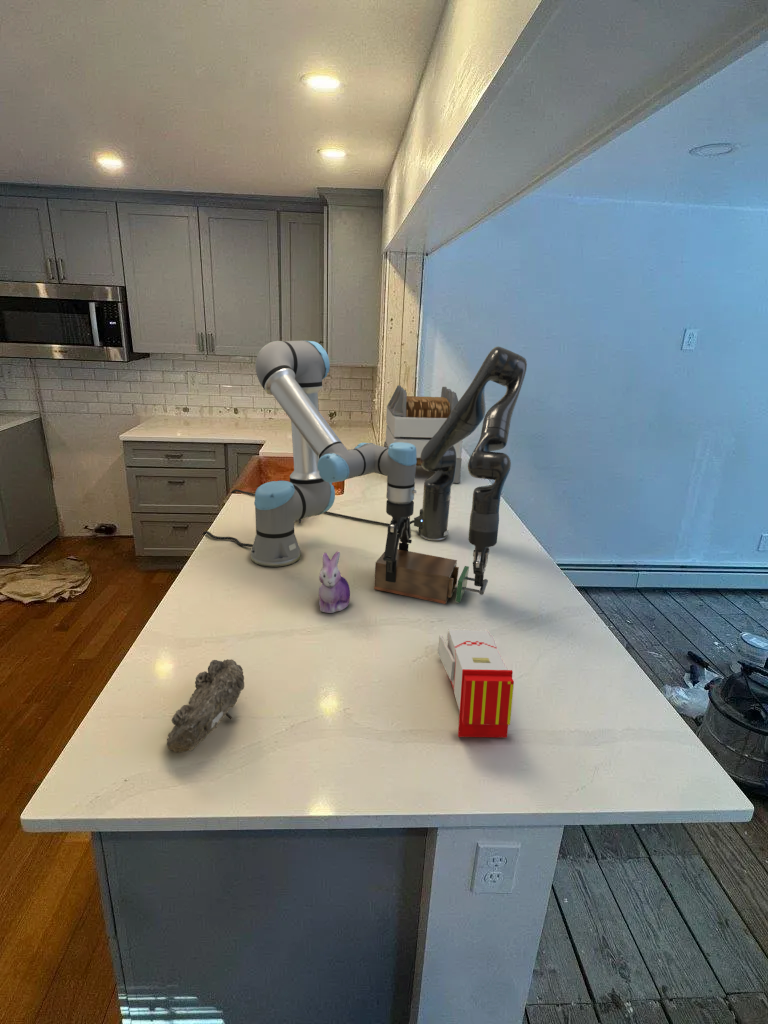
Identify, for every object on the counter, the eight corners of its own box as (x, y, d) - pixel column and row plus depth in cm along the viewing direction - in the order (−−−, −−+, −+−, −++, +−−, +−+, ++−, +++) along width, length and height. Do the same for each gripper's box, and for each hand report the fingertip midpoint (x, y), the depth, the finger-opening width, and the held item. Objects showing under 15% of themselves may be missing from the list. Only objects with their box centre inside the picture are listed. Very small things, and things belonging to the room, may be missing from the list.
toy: (488, 613, 130) (523, 677, 101) (484, 667, 133) (517, 744, 104) (435, 612, 130) (455, 676, 101) (432, 666, 133) (451, 743, 103)
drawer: (487, 590, 160) (489, 570, 158) (481, 607, 151) (484, 586, 149) (401, 573, 167) (403, 554, 165) (391, 588, 158) (392, 568, 156)
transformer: (382, 463, 289) (386, 382, 275) (445, 464, 293) (451, 384, 279) (390, 482, 257) (394, 392, 243) (460, 483, 261) (468, 394, 247)
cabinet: (454, 586, 164) (457, 560, 161) (445, 604, 154) (448, 576, 151) (386, 572, 170) (388, 547, 167) (373, 589, 159) (375, 562, 156)
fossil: (192, 660, 117) (244, 628, 112) (224, 691, 120) (276, 661, 115) (142, 746, 98) (202, 712, 93) (182, 779, 101) (242, 748, 96)
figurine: (324, 618, 144) (324, 564, 139) (310, 599, 152) (310, 548, 147) (358, 610, 148) (359, 558, 143) (342, 593, 156) (343, 543, 151)
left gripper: (401, 515, 143) (397, 592, 150) (424, 489, 164) (419, 558, 171) (373, 511, 145) (370, 587, 152) (399, 486, 166) (396, 554, 174)
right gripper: (494, 536, 142) (488, 598, 148) (501, 519, 154) (495, 577, 160) (465, 532, 144) (460, 593, 150) (473, 516, 156) (469, 573, 162)
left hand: (396, 572), depth 162 cm, fingers closed on cabinet, 11 cm apart
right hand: (478, 585), depth 155 cm, fingers closed
